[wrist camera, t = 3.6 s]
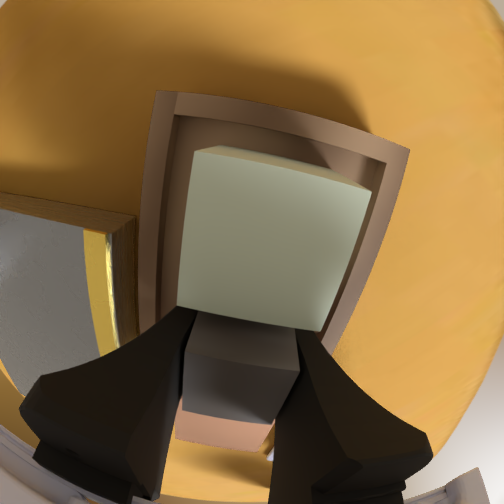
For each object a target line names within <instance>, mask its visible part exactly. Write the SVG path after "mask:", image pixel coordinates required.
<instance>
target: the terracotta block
mask: <svg viewBox="0 0 504 504" xmlns="http://www.w3.org/2000/svg"><path fill="white" fill-rule="evenodd" d="M274 423H275V419H274V421H273V423H272V425H266V424H257V423H249V422H241V421H234V420H228V419H222V418H216V417H211V416H206V415H201V414H196V413H192V412H187V411H183V410H182V397H181V399H180V402H179V406H178V409H177V413H176V417H175V439H179V440H184V441H188V442H193V443H198V444H203V445H208V446H214V447H220V448H226V449H233V450H241V451H250V452H257V451H258V450H259V448H260V447H261V445H262V443H263V442H264V440H265V438H266V437H267V435H268V433H269V432H270V430H271V428H272V426H273V425H274Z"/></svg>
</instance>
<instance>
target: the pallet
mask: <svg viewBox="0 0 504 504" xmlns="http://www.w3.org/2000/svg"><path fill="white" fill-rule="evenodd" d="M219 145H226V146H231V147H237V148H242V149H248V150H253V151H258V152H262V153H267V154H272V155H276V156H281V157H285V158H289V159H294V160H298V161H302V162H306V163H310V164H314V165H317V166H321V167H325V168H328V169H332V170H334V171H336V172H337V173H339V174H341V175H343V176H345V177H347V178H349V179H350V180H352V181H354V182H356V183H358V184H359V185H361V186H363V187H365V188H366V189H368V190H370V191H371V192H372V193H371V197H370V200H369V203H368V207H367V210H366V213H365V216H364V219H363V222H362V225H361V228H360V231H359V234H358V237H357V240H356V243H355V246H354V249H353V252H352V254H351V257H350V260H349V263H348V265H347V268H346V271H345V273H344V276H343V279H342V281H341V284H340V286H339V289H338V291H337V294H336V296H335V299H334V301H333V304H332V306H331V308H330V311H329V313H328V315H327V318H326V320H325V322H324V325H323V327H322V329H321V331H320V332H319V331H314V333H315V334H316V336H317V337H318V339H319V340H320V342H321V343H322V344H323V346H324V347H325V348H326V350H327V351H328V352H329V354H330V355H332V353H333V351H334V349H335V347H336V345H337V344H338V342H339V340H340V338H341V336H342V334H343V332H344V330H345V328H346V326H347V323H348V321H349V319H350V317H351V315H352V313H353V311H354V309H355V307H356V304H357V302H358V300H359V298H360V295H361V293H362V291H363V289H364V286H365V284H366V282H367V279H368V277H369V274H370V272H371V269H372V267H373V264H374V262H375V259H376V257H377V254H378V252H379V249H380V246H381V244H382V241H383V238H384V235H385V233H386V230H387V227H388V224H389V221H390V218H391V215H392V212H393V209H394V206H395V203H396V199H397V196H398V193H399V190H400V186H401V183H402V179H403V176H404V172H405V168H406V164H407V161H408V157H409V153H410V149H408V148H405V147H403V146H401V145H398V144H396V143H394V142H391V141H389V140H386V139H384V138H381V137H378V136H376V135H373V134H370V133H368V132H365V131H362V130H359V129H356V128H353V127H350V126H347V125H344V124H341V123H338V122H335V121H331V120H328V119H325V118H321V117H318V116H314V115H310V114H307V113H303V112H299V111H295V110H291V109H286V108H282V107H278V106H273V105H268V104H263V103H258V102H253V101H247V100H242V99H236V98H229V97H222V96H215V95H207V94H198V93H187V92H175V91H158V90H157V91H156V96H155V101H154V106H153V111H152V117H151V122H150V129H149V135H148V141H147V149H146V156H145V164H144V173H143V182H142V193H141V206H140V221H139V244H138V303H139V325H140V334H142V333H143V332H145V331H146V330H147V329H149V328H150V327H151V326H153V325H154V324H155V323H157V322H158V321H159V320H160V319H162V318H163V317H164V316H165V315H166V314H167V313H169V312H170V311H171V310H172V309H173V308H174V307H175V306H176V305H177V293H178V280H179V268H180V257H181V247H182V237H183V228H184V220H185V212H186V204H187V197H188V189H189V183H190V176H191V169H192V163H193V157H194V151H197V150H201V149H205V148H210V147H214V146H219ZM299 372H300V367H299V359H298V351H297V343H296V335H295V328H291V327H285V326H279V325H273V324H267V323H261V322H255V321H250V320H244V319H239V318H234V317H229V316H224V315H219V314H214V313H209V312H204V311H200V310H198V313H197V316H196V319H195V322H194V325H193V328H192V331H191V334H190V337H189V340H188V343H187V346H186V349H185V356H184V373H183V394H182V410H183V411H187V412H192V413H196V414H201V415H206V416H211V417H216V418H222V419H228V420H234V421H241V422H249V423H257V424H266V425H272V423H273V421H274V419H275V418H276V416H277V414H278V412H279V410H280V409H281V407H282V405H283V403H284V401H285V399H286V397H287V396H288V394H289V392H290V390H291V388H292V386H293V384H294V382H295V380H296V378H297V376H298V374H299Z"/></svg>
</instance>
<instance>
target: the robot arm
mask: <svg viewBox="0 0 504 504" xmlns="http://www.w3.org/2000/svg"><path fill="white" fill-rule="evenodd" d="M197 313H198V310H195V309H191V308H186V307H182V306H177V305H176V306H175V307H174V308H173V309H172V310H171V311H170V312H169V313H167V314H166V315H165V316H164V317H163V318H162V319H160V320H159V321H158V322H157V323H155V324H154V325H153V326H151V327H150V328H149V329H147V330H146V331H145V332H143V333H142V334H140V335H139V336H137V337H136V338H134V339H133V340H131V341H130V342H128V343H126V344H125V345H123V346H121V347H119V348H117V349H115V350H113V351H112V352H110V353H108V354H106V355H104V356H101V357H99V358H97V359H94V360H92V361H89V362H87V363H84V364H81V365H78V366H75V367H72V368H69V369H65V370H61V371H57V372H53V373H49V374H44V375H41V376H40V377H39V378H38V380H37V381H36V382H35V383H34V385H33V386H32V388H31V389H30V391H29V392H28V394H27V396H26V397H25V399H24V401H23V402H22V404H21V405H20V407H19V410H20V414H21V416H22V418H23V419H24V421H25V422H26V423H27V425H28V426H29V427H30V428H31V430H32V431H33V432H34V433H35V434H36V435H37V436H38V438H39V439H40V442H39V444H38V446H37V448H36V449H34V448H33V447H31V446H30V445H28V444H27V443H25V442H24V441H22V440H21V439H19V438H18V437H17V436H15V435H14V434H12V433H11V432H10V431H8V430H7V429H6V428H4V427H3V426H2V425H1V424H0V504H90V503H88V500H87V499H86V498H88V499H91V500H93V501H95V502H98V503H100V504H160V503H156V502H152V501H154V500H156V499H158V498H159V497H160V491H161V485H162V479H163V473H164V468H165V463H166V458H167V453H168V448H169V443H170V439H171V434H172V430H173V425H174V421H175V417H176V413H177V409H178V406H179V402H180V399H181V397H182V394H183V373H184V356H185V349H186V346H187V343H188V340H189V337H190V334H191V331H192V328H193V325H194V322H195V319H196V316H197ZM295 335H296V343H297V351H298V359H299V367H300V372H299V374H298V376H297V378H296V380H295V382H294V384H293V386H292V388H291V390H290V392H289V394H288V396H287V397H286V399H285V401H284V403H283V405H282V407H281V409H280V410H279V412H278V414H277V416H276V418H275V440H274V447H273V449H272V450H271V451H270V453H269V454H268V455H267V460H268V461H273V467H272V476H271V485H270V492H269V499H268V504H490V502H489V499H488V495H487V492H486V489H485V485H484V482H483V479H482V476H481V474H480V471H479V468H474V469H472V470H470V471H468V472H466V473H464V474H462V475H460V476H458V477H457V478H455V479H453V480H452V481H450V482H449V483H447V484H446V485H445V486H442V487H440V488H437V489H435V490H432V491H430V492H427V493H424V494H421V495H418V496H415V497H412V498H409V499H406V500H403V496H402V492H401V491H403V490H405V489H406V484H405V480H406V479H407V478H409V477H410V476H412V475H414V474H415V473H416V472H418V471H420V470H421V469H422V468H423V467H425V466H426V465H427V464H428V463H429V462H430V461H431V460H432V458H433V452H432V449H431V446H430V443H429V440H428V438H427V435H426V433H424V432H423V431H421V430H419V429H417V428H415V427H413V426H411V425H410V424H408V423H406V422H404V421H403V420H401V419H399V418H398V417H396V416H395V415H393V414H392V413H390V412H389V411H387V410H386V409H385V408H383V407H382V406H381V405H379V404H378V403H377V402H376V401H375V400H373V399H372V398H371V397H370V396H369V395H367V394H366V393H365V392H364V391H363V390H362V389H361V388H360V387H359V386H358V385H357V384H356V383H355V382H354V381H353V380H352V379H351V378H350V377H349V376H348V375H347V374H346V373H345V372H344V371H343V370H342V369H341V367H340V366H339V365H338V364H337V363H336V361H335V360H334V359H333V358H332V356H331V355H330V354H329V352H328V351H327V350H326V348H325V347H324V346H323V344H322V343H321V342H320V340H319V339H318V337H317V336H316V334H315V333H314V331H312V330H305V329H298V328H295ZM85 497H86V498H85Z"/></svg>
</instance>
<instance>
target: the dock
mask: <svg viewBox="0 0 504 504" xmlns="http://www.w3.org/2000/svg"><path fill="white" fill-rule="evenodd" d="M134 240H135V216H133V215H127V214H122V213H117V212H111V211H106V210H100V209H95V208H89V207H84V206H78V205H73V204H67V203H61V202H56V201H50V200H44V199H39V198H33V197H27V196H21V195H15V194H9V193H3V192H0V359H1V361H2V363H3V365H4V366H5V368H6V370H7V372H8V374H9V375H10V377H11V379H12V381H13V382H14V384H15V386H16V387H17V389H18V391H19V392H20V393H21V394H23V395H24V396H27V394H28V392H29V391H30V389H31V388H32V386H33V385H34V383H35V382H36V381H37V380H38V378H39V377H40V376H41V375H44V374H49V373H53V372H57V371H61V370H65V369H69V368H72V367H75V366H78V365H81V364H84V363H87V362H89V361H92V360H94V359H97V358H99V357H101V356H104V355H106V354H108V353H110V352H112V351H113V350H115V349H117V348H119V347H121V346H123V345H125V344H126V343H128V342H130V341H131V340H133V339H134V338H136V337H137V331H136V315H135V291H134Z"/></svg>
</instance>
